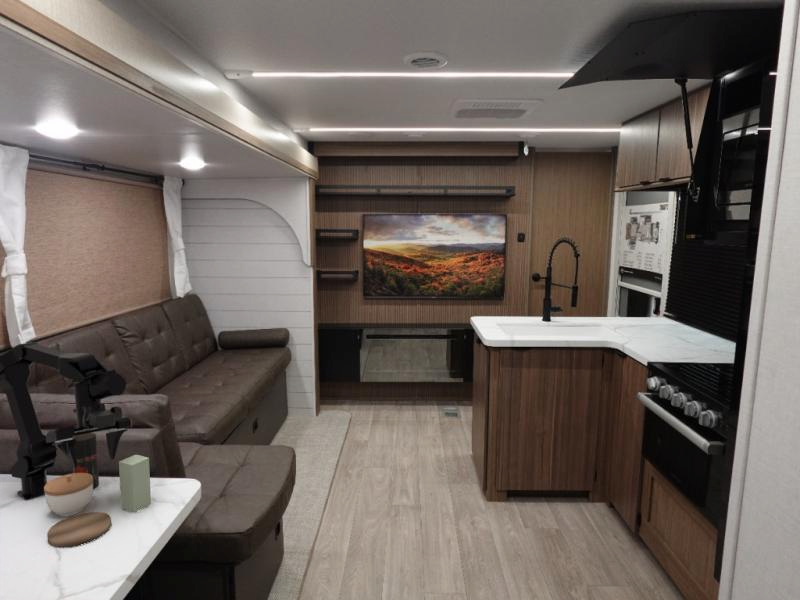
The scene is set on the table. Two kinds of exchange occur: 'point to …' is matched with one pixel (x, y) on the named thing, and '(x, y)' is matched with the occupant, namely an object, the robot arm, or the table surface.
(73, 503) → the lidded jar
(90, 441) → the deodorant
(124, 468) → the post
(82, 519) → the disc
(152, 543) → the table surface
